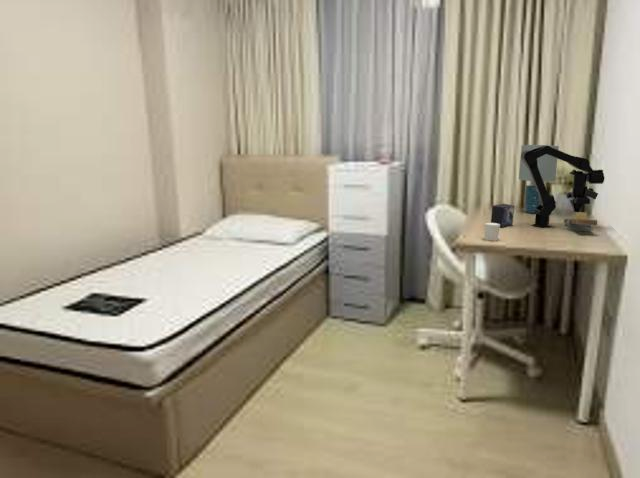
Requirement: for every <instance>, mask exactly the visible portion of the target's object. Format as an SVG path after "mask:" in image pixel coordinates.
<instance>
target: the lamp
mask: <svg viewBox="0 0 640 478" xmlns="http://www.w3.org/2000/svg"><path fill="white" fill-rule="evenodd" d="M543 145H544V144H522V145H521V149H520V155H521V154H522V153H523V152H524V151H526V150H533V149H536V148H539V147H542V146H543ZM546 145H547V144H546ZM547 146H550V147H552V148H554V149H557V150H559V149H560V148H559V145H550V144H548V145H547ZM519 161H520V162H519V172H518V180H521V181H526V182H533V179H532V176H531V174H530V171H529V169H528V168H527V167H526V165H525V164H524V162H523V161H522V159H521V158H520V159H519ZM537 163H538V169H539V172H540V174H541V177H542V179H543V182H545V183H546V182H555V181H556V177H557V169H558V168H557V167H558V159H557V158H555V157H553V156H550V155H548V154H545V155H543V156H541V157H539V158H537ZM545 187H546V188H547V186H546V185H545ZM538 205H540V203H539V194H538V192H537V189H536V187H535V184H534V183H533V184H528V185H526V186H525V191H524V211H525V212H526V213H529V214H535V215H536V214H537V213H536V212H535V208H536V207H537V206H538Z"/></svg>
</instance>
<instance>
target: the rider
mask: <svg viewBox="0 0 640 478" xmlns="http://www.w3.org/2000/svg"><path fill="white" fill-rule="evenodd" d="M587 216H588V212H581V211H579V212H574V211H571V217H570V219H577V220H588V219H587V218H588V217H587Z"/></svg>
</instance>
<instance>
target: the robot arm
mask: <svg viewBox="0 0 640 478" xmlns="http://www.w3.org/2000/svg"><path fill="white" fill-rule="evenodd" d="M542 145H543V146H542V147H539V148H536V149H533V150H526V151H524V152H523V153H522V154H521V153H520V159H522V161H523V162H524V164H525V165H526V167H527V168H528V169H529V171H530V174H531V176H532V179H533V181H532V182H533V185H534V184H535V187H536V189H537V192H538V194H539V203H540V205H538V206H537V207H536V208H535V212H536V213H537V214H535V219H534V223H533V224H532V225H531V226H533V227H538V228H551V227H552V225H551V224H550V216H551V215H552V212H554V211H555V209H556V208H557V207H556V205H557V202H556V200H555V196H554V195H553V194H550V193H549V192H548V190H547V186H546V184H545V183H544V182H543V179H542V177H541V174H540V172H539V169H538V163H537V158H539V157H541V156H543V155H545V154H548V155H550V156H553V157H555V158H557V160H560V161H563V162H564V163H565V162H566V163H567V164H568V165H570V166H571V167H572V168H574V169H572V171H570V172H569V175H571V176H573V181H572V182H573V183H572V184H571V188H572V189H571V192H570V191H569V192H568V193H566V199H570V200H569V202H570V205H571V207H572V210H573V212H581V208H582V206H583V205H590V204H591V199H590V198H592V200H596V199H597V197H598V195H599V193H598V192H596V191H594V188H591V187H588V186H587V183H588V184H590V185H591V184H593V185H594V184H595V185H596V184H597V185H601V184H602V185H603V184H604V182H605V179H606V178H605V174H604V170H603V169H593V168H592V166H591V165H590V161H589V159H587V158H584V157H581V156H575V155H571V154H569V153H566V152H564V151H562V150H559V149H558V150H557V149H554V148H552V147H550V146H547V144H542ZM545 186H546V187H545Z"/></svg>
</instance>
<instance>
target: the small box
mask: <svg viewBox="0 0 640 478" xmlns="http://www.w3.org/2000/svg"><path fill="white" fill-rule="evenodd" d="M514 210H515V205H512V204H507V203H500V204H494V205H492V206H491V217H490V218H491V219H490V223H498V224H500V229H501V228H506V227H507V226H508V227H512V226H513V222H514V212H515V211H514ZM508 227H507V228H508Z"/></svg>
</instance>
